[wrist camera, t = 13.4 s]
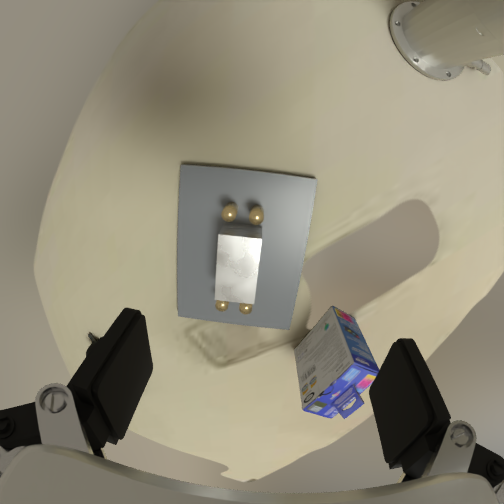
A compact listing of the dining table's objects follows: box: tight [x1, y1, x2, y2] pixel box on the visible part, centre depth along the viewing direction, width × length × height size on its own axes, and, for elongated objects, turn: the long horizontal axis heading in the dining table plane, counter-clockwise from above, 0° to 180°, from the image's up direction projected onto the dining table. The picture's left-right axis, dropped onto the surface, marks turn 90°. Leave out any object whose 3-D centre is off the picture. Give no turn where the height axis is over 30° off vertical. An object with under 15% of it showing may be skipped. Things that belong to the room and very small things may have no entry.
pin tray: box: [177, 164, 317, 330], centre depth 35 cm, size 16×21×4 cm
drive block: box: [215, 222, 262, 304], centre depth 34 cm, size 5×8×5 cm, turn 174°
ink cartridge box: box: [294, 306, 379, 419], centre depth 35 cm, size 10×6×14 cm, turn 150°
